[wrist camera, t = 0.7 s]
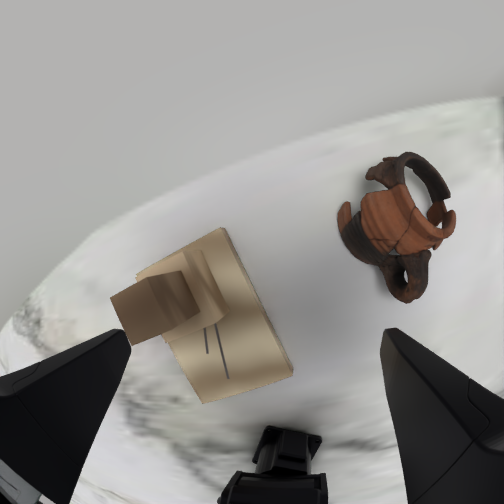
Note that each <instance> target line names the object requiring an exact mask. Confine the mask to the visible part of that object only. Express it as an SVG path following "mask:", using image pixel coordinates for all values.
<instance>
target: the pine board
mask: <svg viewBox="0 0 504 504" xmlns="http://www.w3.org/2000/svg"><path fill="white" fill-rule="evenodd" d="M196 250H201V251H202V253H203V256H204V258H205V260H206V262H207V264H208V266H209V269H210V271H211V273H212V275H213V277H214V279H215V281H216V283H217V285H218V288H219V290H220V292H221V294H222V296H223V298H224V300H225V302H226V304H227V306H228V308H229V310H230V311H229V312H228V313H227V314H226V315H225V316H224V317H222V318H221V319H220V320H219V321H218V322H217V323H215V324H212V325H210V326H207V327H205V328H203V329H200V330H198V331H195V332H193V333H190V334H188V335H185V336H183V337H180V338H178V339H175V340H172V341H170V342H168V344H169V346H170V348H171V350H172V351H173V353H174V355H175V357H176V359H177V361H178V363H179V364H180V366H181V368H182V370H183V372H184V373H185V375H186V377H187V379H188V380H189V382H190V384H191V385H192V387H193V389H194V391H195V392H196V394H197V396H198V397H199V399H200V400H201V402H202V404H204V403H208V402H212V401H216V400H219V399H223V398H226V397H230V396H233V395H237V394H240V393H243V392H247V391H250V390H253V389H256V388H259V387H262V386H265V385H268V384H271V383H274V382H277V381H279V380H282V379H285V378H288V377H290V376H293V367H292V365H291V363H290V361H289V359H288V357H287V355H286V353H285V351H284V349H283V347H282V345H281V343H280V341H279V339H278V337H277V335H276V333H275V331H274V329H273V327H272V325H271V323H270V321H269V319H268V317H267V315H266V313H265V311H264V309H263V307H262V305H261V302H260V300H259V298H258V296H257V294H256V292H255V290H254V288H253V286H252V284H251V282H250V280H249V278H248V276H247V274H246V271H245V269H244V267H243V265H242V263H241V261H240V259H239V257H238V255H237V253H236V251H235V248H234V246H233V244H232V242H231V240H230V238H229V236H228V234H227V232H226V230H225V228H218V229H217V230H215V231H213V232H211V233H209V234H207V235H205V236H203V237H202V238H200V239H198V240H196V241H194V242H192V243H191V244H189V245H187V246H185V247H183V248H181V249H180V250H178V251H176V252H174V253H172V254H171V255H169V256H167V257H165V258H163V259H162V260H160V261H158V262H156V263H155V264H153V265H151V266H149V267H148V268H146V269H144V270H142V271H141V272H139V273H137V274H136V275H137V276H139V275H141V274H142V273H144V272H146V271H148V270H149V269H151V268H153V267H155V266H156V265H158V264H160V263H162V262H164V261H165V260H167V259H169V258H171V257H173V256H174V255H176V254H178V253H180V252H182V251H196Z"/></svg>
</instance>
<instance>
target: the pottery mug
mask: <svg viewBox="0 0 504 504" xmlns="http://www.w3.org/2000/svg"><path fill="white" fill-rule="evenodd" d="M383 161H384V162H381V163H379V164H378V165H377V166H374V167H371V168H369V170H368V172H367V174H366V176H365V178H366V180H374V179H375V180H376V181H378V182H380V183H382V184H383V185H384V186H385V187H386V188H388V190H382V191H378V192H372V193H367V194H366V195H365V196H364V197H363V199H362V201H361V211H358V212H357V214H356V215H355V216H354V218H353V219H352V216H351V205H350V202H345V203H344V204H343V205H342V207H341V209H340V210H339V212H338V227H339V230H340V233H341V237H342V239H343V241H344V243H345V245H346V247H347V248H348V249H349V250H350V252H351V253H352V254H353V255H354V256H355V257H356V258H358V259H360V260H361V261H363V262H365V263H367V264H373V265H376V266H379V268H380V270H381V271H382V273H383V275H384V278H385V280H386V284H387V287H388V289H389V291H390V293H391V294H392V295H393V296H394V297H395V298H397V299H398V300H399V301H401V302H404V303H406V304H407V303H411V302H412V301H413V300H414V299H418V298H420V297H421V295H422V294H423V293H424V292H425V290H426V288H427V284H428V263H429V260H430V258H431V252H430V251H429V250H428V249H430V248H431V247H432V248H433V250H436V249H437V248H438V247H439V246H440V244H441V243H442V241H443V239H445V238H448V237H449V236H450V235H451V234H452V233H453V232H454V229H455V225H456V214H455V212H454V211H453V210H450V211H448V212H447V210H446V206H445V204H444V201H443V200H444V199H448V198H450V197H451V196H450V195H451V194H450V191H449V189H448V187H447V185H446V183H445V181H444V180H443V178H442V177H441V175H440V174H439V172H438V171H437V170H436V169H435V168H434V167H433V166H432V165H431V164H430V163H429V162H428V161H427V160H425V158H423V157H421V156H419V155H418V154H415V153H413V152H405V153H403V154H401V155H400V156H399V157H387V158H383ZM405 166H407V167H409V168H411V169H413V172H414V173H415V174H416V175H417V176H418V177H419V178H420V179H421V180H422V181H423V182H424V183H425V185H426V187H427V189H428V192H429V194H430V197H431V201H432V203H433V204H432V206H431V207H430V209H429V211H428V212H427V217H428V219H429V221H428V220H427V219H426V218H425V217H424V216H423V215H422V214H421V212H420V211H419V209H418V208H417V207H416V206H415V203H414V201H413V200H412V198H411V195H410V193H409V191H408V188H407V186H406V184H405V177H404V167H405ZM441 222H442V229H440V228H437V227H436V226H438V225H439V223H441ZM393 249H395V250H396V252H397V253H398V254H399V255H400V256H398V255H389V253H390V252H391V251H392V250H393ZM405 270H406V272H407V277H408V283H407V282H406V280H405V278H404V272H405Z"/></svg>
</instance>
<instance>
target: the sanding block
mask: <svg viewBox="0 0 504 504" xmlns="http://www.w3.org/2000/svg"><path fill="white" fill-rule="evenodd" d="M135 278H136V280H137V283H135V284H133V285H132V286H130V287H128V288H126V289H125V290H123V291H121V292H119V293H118V294H116V295H114V296H112V297H110V299H111V302H112V304H113V306H114V309H115V311H116V313H117V316H118V318H119V320H120V322H121V324H122V327H123V329H124V331H125V333H126V335H127V337H128V339H129V341H130V343H131V345H132V346H133V345H135V344H138V343H140V342H143V341H145V340H148V339H150V338H153V337H155V336H158V335H160V334H161V335H162V337H163V339H164V340H165V342H166V343H167V342H170V341H172V340H175V339H178V338H180V337H183V336H185V335H188V334H190V333H193V332H195V331H198V330H200V329H203V328H205V327H207V326H210V325H212V324H215V323H217V322H218V321H219V320H220V319H221V318H222V317H224V316H225V315H226V314H227V313H228V312H229V311H230V310H229V308H228V306H227V304H226V302H225V300H224V298H223V296H222V294H221V292H220V290H219V288H218V285H217V283H216V281H215V279H214V277H213V275H212V273H211V271H210V269H209V266H208V264H207V262H206V260H205V258H204V256H203V253H202V251H201V250H196V251H182V252H180V253H178V254H176V255H174V256H173V257H171V258H169V259H167V260H165V261H164V262H162V263H160V264H158V265H156V266H155V267H153V268H151V269H149V270H148V271H146V272H144V273H142V274H141V275H139V276H137V277H135Z"/></svg>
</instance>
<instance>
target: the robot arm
mask: <svg viewBox="0 0 504 504" xmlns="http://www.w3.org/2000/svg"><path fill="white" fill-rule="evenodd" d="M130 354H131V346H130V343H129V341H128V338H127V336H126V333H125V332H124V330H122V329H112V330H110V331H108V332H105V333H103V334H101V335H99V336H96V337H94V338H92V339H90V340H87V341H85V342H83V343H81V344H79V345H76V346H74V347H72V348H70V349H67V350H65V351H63V352H61V353H58V354H56V355H54V356H51V357H49V358H47V359H45V360H42V361H41V362H38V363H35V364H33V365H31V366H28V367H26V368H23V369H21V370H18V371H15V372H13V373H10V374H7V375H4V376H1V377H0V504H43V503H42V502H40V501H39V499H40V497H41V496H42V494H43V495H44V496H45V497H47V498H48V499H50V500H51V501H53V502H54V503H56V504H69V503H70V500H71V498H72V495H73V492H74V489H75V487H76V484H77V481H78V479H79V476H80V473H81V471H82V468H83V465H84V463H85V460H86V458H87V456H88V453H89V451H90V448H91V446H92V444H93V441H94V439H95V437H96V434H97V432H98V430H99V427H100V425H101V423H102V421H103V418H104V416H105V414H106V412H107V410H108V408H109V405H110V403H111V401H112V399H113V397H114V395H115V393H116V391H117V388H118V386H119V384H120V381H121V379H122V376H123V373H124V370H125V368H126V365H127V362H128V360H129V357H130ZM380 358H381V364H382V370H383V376H384V383H385V390H386V396H387V401H388V404H389V408H390V412H391V416H392V421H393V425H394V429H395V434H396V438H397V443H398V448H399V453H400V458H401V463H402V468H403V474H404V480H405V487H406V493H407V501H408V504H504V399H502V398H501V397H499V396H497V395H496V394H494V393H492V392H491V391H489V390H488V389H486V388H485V387H483V386H482V385H480V384H478V383H477V382H476V381H474V380H473V379H471V378H470V379H469V377H468V376H467V375H465V374H464V373H463V372H461V371H460V370H458V369H457V368H455V367H454V366H452V365H451V364H449V363H448V362H447V361H445V360H444V359H442V358H441V357H439V356H438V355H436V354H435V353H433V352H432V351H430V350H429V349H428V348H426V347H425V346H423V345H422V344H420V343H419V342H417V341H416V340H414V339H413V338H411V337H410V336H408V335H407V334H405V333H404V332H402V331H401V330H399V329H398V328H389V329H385V330H384V332H383V337H382V342H381V348H380ZM268 430H271V431H268ZM316 440H319V441H316ZM321 443H322V438H321V437H319V436H314V435H309V434H304V433H299V432H294V431H289V430H285V429H280V428H276V427H272V426H267V427H266V428H265V430H264V432H263V435H262V437H261V440H260V442H259V445H258V447H257V450H256V452H255V455H254V457H253V460H252V462H253V463H255V464H257V466H256V470H255V473H246V472H242V471H236V473H235V474H234V475H233V476H232V478H231V480H230V481H229V483H228V484H227V486H226V487H225V489H224V490H223V492H222V494H221V497H219V498H218V500H217V503H218V504H328V488H327V480H326V473H320V474H311V460H312V459H313V457H314V455H315V453H316V452H317V450H318V448H319V446H320V444H321ZM256 460H258V461H256Z"/></svg>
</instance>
